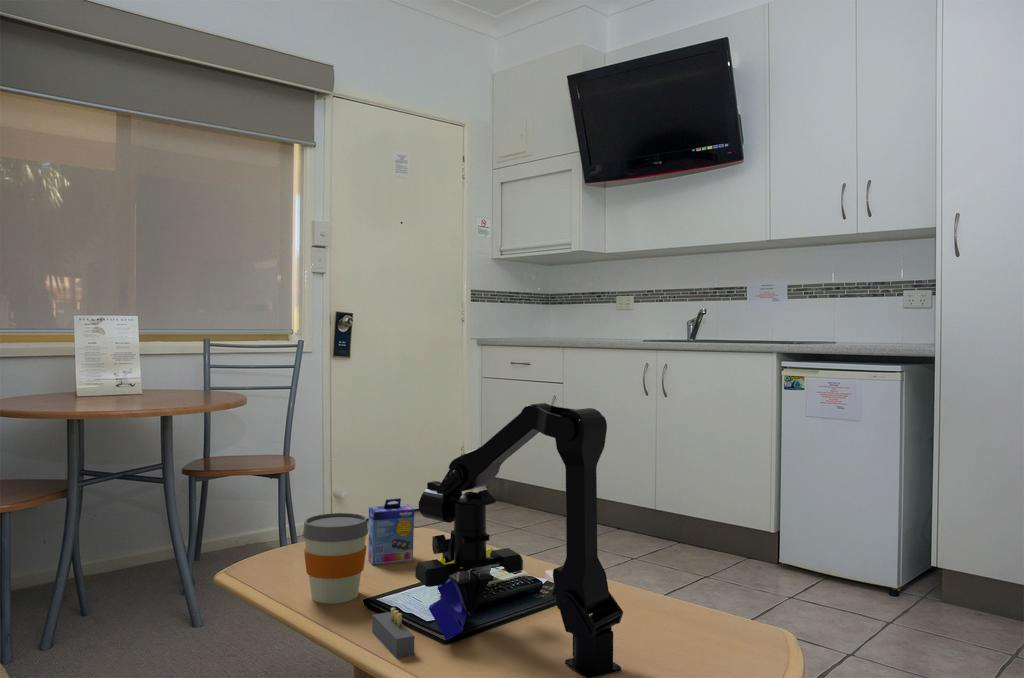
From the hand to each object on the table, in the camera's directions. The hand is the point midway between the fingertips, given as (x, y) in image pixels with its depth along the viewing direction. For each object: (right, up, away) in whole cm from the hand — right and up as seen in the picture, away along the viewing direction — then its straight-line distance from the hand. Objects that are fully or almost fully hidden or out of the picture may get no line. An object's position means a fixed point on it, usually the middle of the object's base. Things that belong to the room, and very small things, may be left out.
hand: (470, 614), depth 131 cm
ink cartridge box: (-21, -2, +40) cm, 45 cm away
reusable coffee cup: (-28, -2, +15) cm, 31 cm away
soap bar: (+18, -3, +23) cm, 30 cm away
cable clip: (-2, -1, -3) cm, 4 cm away
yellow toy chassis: (-2, -3, +21) cm, 21 cm away
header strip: (-12, -2, -8) cm, 15 cm away
